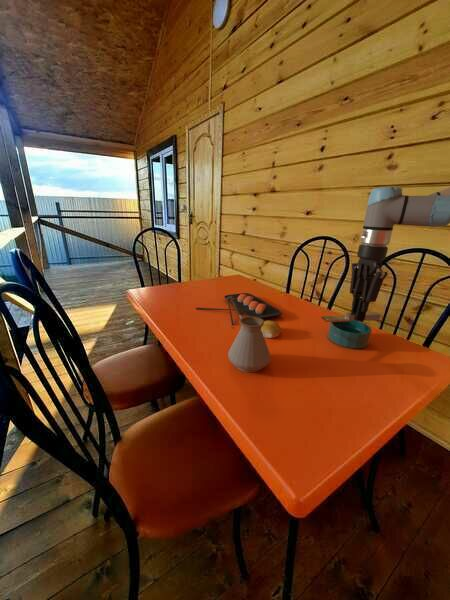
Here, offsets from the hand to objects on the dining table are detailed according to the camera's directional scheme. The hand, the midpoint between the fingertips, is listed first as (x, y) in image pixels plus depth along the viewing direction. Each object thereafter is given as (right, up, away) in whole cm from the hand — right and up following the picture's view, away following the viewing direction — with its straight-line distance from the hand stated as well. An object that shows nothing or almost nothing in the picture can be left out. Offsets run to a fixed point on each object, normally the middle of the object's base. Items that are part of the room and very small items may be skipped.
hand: (356, 318), depth 82 cm
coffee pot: (-38, -10, -8) cm, 40 cm away
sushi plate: (-39, +2, +25) cm, 46 cm away
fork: (-2, 0, 0) cm, 2 cm away
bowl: (-2, -7, +2) cm, 8 cm away
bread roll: (-28, -6, +6) cm, 29 cm away
